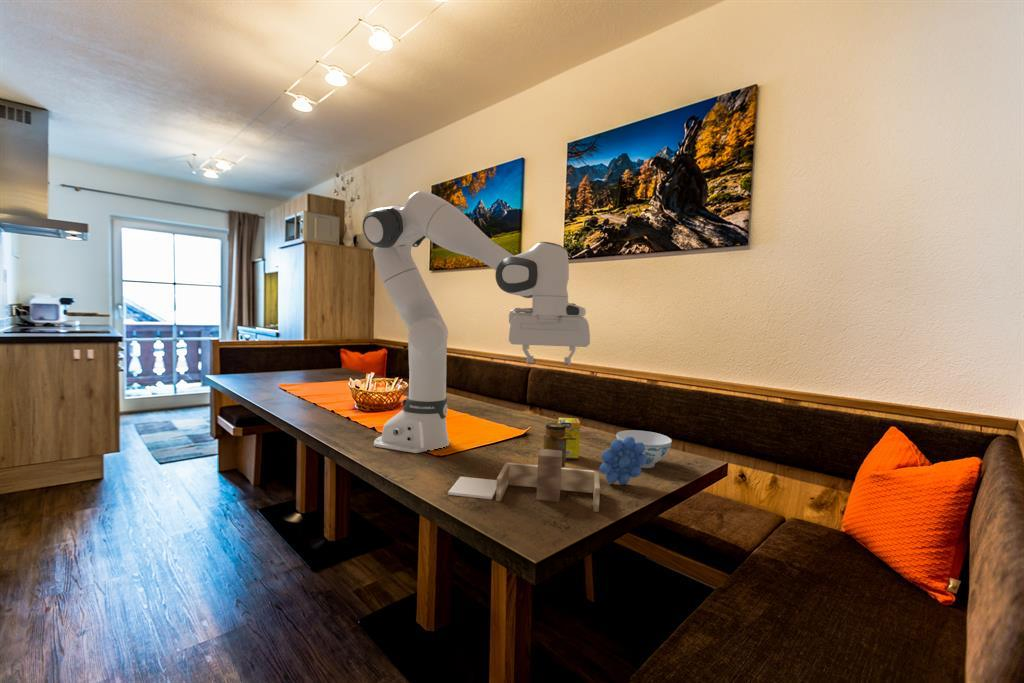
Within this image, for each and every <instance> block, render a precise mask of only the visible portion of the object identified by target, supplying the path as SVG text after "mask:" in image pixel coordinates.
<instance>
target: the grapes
mask: <svg viewBox="0 0 1024 683" xmlns="http://www.w3.org/2000/svg"><path fill="white" fill-rule="evenodd" d="M644 450H645V446H644V444H643V443H641V442H637V443H635V439H634V438H633V437H627V438H625V439H624V441H623V443H622V441H621V440H617V438H616V439H614V440H613V441H612V442H611V443H610V449H609V448H607V449H605V450H604V451H602V453H601V454H600V455H601V460H602V461H603V462H602V463H601V465H600V466H599V473H601V474H603V475H606V476H605V478H606V482H607V483H609V484H614V483H616V482H617V481H618V483H619V484H620V485H627V484H628V483H630V480H631V478H634V479H636V478H639V477H640V475H641V474H642V472H643V471H642V467H640V466H643V465H645V464H646V462H647V456H646V455H645V454H642V453H643V452H644Z"/></svg>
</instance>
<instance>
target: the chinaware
mask: <svg viewBox="0 0 1024 683" xmlns="http://www.w3.org/2000/svg"><path fill="white" fill-rule="evenodd" d="M615 436H616V437H615V438H616V439H617V440H621V441H622V443H623V441H624V439H625V438H627V437H633V438H634V439H635V443H637V442H641V443H643V444H644V446H645V450H644V452H643V453H642V454H645V455H646V456H647V462H646V464H645V465H643V466H640V467H641V469H643V468H644V469H651V468H654V467H655V464H656V463H659V462H660V461H662V460H663V459H664V458H665V457H666V456H667V454H668V453H669V451H670V448H671V447H672V444H673V443H672V441H673V440H672V438H670V437H669V436H667V435H664V434H661V433H659V432H658V433H657V432H653V431H647V430H646V431H645V430H638V429H637V430H635V429H633V430H622V431H618V432H616V434H615Z"/></svg>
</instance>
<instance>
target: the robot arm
mask: <svg viewBox="0 0 1024 683" xmlns="http://www.w3.org/2000/svg"><path fill="white" fill-rule="evenodd" d="M362 231H363V235H364V237H365V239H366V240H367V242H368V243H369V244H370V245H372V246H373V247H374V249H373V251H372V256H373V260H374V264H375V266H376V270H377V272H378V275H379V277H380V280H381V282H382V284H383V286H384V288H385V290H386V292H387V294H388V296H389V298H390V300H391V302H392V304H393V307H394V308H395V310H396V312H397V313H398V314H399V316H400V318H401V320H402V322H403V323H404V325H405V327H406V329H407V330H408V335H407V336H408V337H407V338H408V339H407V340H408V341H407V342H408V345H407V346H408V369H409V371H408V374H409V375H408V376H409V379H408V397H406V398H405V399H403V400H402V401H401V402H400V403H401V404H400V407H401V406H402V410H400V411H399V412H397V414H395V415H394V416H392V417H391V418H389V419H388V420H387V421H386V422H385V423H384V425H383V428H382V431H381V432H382V433H381V435H380V436H377V437H376V438H375V439H374V441H373V446H374V447H377V448H383V449H388V450H395V451H401V452H408V453H413V454H418V453H422V452H423V453H424V452H428V451H427V450H430V451H433V450H432V449H438V448H442V449H444V448H443V447H445V448H447V447H449V446H450V444H449V443H450V439H449V435H448V429H447V428H448V427H447V420H446V418H447V416H448V415H447V414H448V399H447V397H446V396H447V359H448V357H447V353H448V352H447V351H448V350H447V348H448V338H449V331H448V327H447V325H446V323H445V320H444V319H443V317H442V314H441V313H440V310H439V309H438V307H437V305H436V303H435V301H434V299H433V297H432V295H431V294H430V290H428V287H427V284H426V283H425V281H424V279H423V276H422V275H421V273H420V271H419V269H418V267H417V265H416V263H415V260H414V258H413V256H412V248H413V247H414V248H417V247H419V246H420V245H421V243H422V242H423V241H424V240H425V239H428V240H429V241H431V242H432V243H434V244H435V245H437V246H439V247H440V248H442V249H445V250H447V251H449V252H452V253H455V254H459V255H463V256H467V257H469V258H473V259H475V260H478V261H480V262H482V263H483V264H485V265H487V266H488V267H490V268H492V269H493V270H494V271H495V273H494V275H495V281H496V284H497V287H499V289H501V291H503V292H505V293H506V294H510V295H513V296H514V295H515V296H520V297H522V298H526V299H532V303H531V305H532V306H531V307H523V308H520V307H516V308H514V309H512V310H511V311H510V312H509V314H508V323H509V324H510V325H509V326H510V327H509V332H508V342H509V344H511V345H514V346H515V345H518V346H519V345H521V346H522V351H523V353H524V355H525V356H526V364H533V363H534V355H531V354H530V352H529V349H530V346H545V347H568V350H569V352H570V353H569V355H568V356H567V357H566V356H565V357H564V359H563V360H564V363H563V365H564V366H565V365H567V366H571V364H572V363H571V362H572V360H571V358H572V357H573V355H574V354H575V352H576V348H577V347H579V348H587V347H588V346H590V344H591V333H590V323H589V321H588V320H587V319H586V317H585V316H586V314H587V311H586V308H585V307H584V306H580V305H576V303H573V302H572V303H571V302H569V294H568V282H569V279H570V278H569V277H570V266H569V264H570V263H569V254H568V251H567V249H566V248H565V247H563V246H562V245H560V244H558V243H553V242H550V241H549V242H548V241H539V242H537V243H536V244H534V245H533V247H531V248H528V249H527V250H526V251H523V252H521V253H518V254H515V255H514V254H513V253H511V252H509V251H508V250H507V249H505V248H503V246H501V245H499V244H498V243H497V242H495V241H493V240H492V239H491V238H490V237H489V236H488V235H486V234H485V232H483V231H482V230H481V229H480V228H479V227H478V226H477V225H476V224H475V223H474V222H473V221H472V220H471V219H470V218H469V217H468V216H467V215H466V214H465V213H463V211H461V210H460V209H458V207H456V206H455V205H453V204H451V203H450V202H448V201H447V200H445V199H443V198H442V197H440V196H438V195H436V194H434V193H431V192H428V191H427V190H417V191H415V192H412V194H411V195H410V196H409V197H408V198H407V199H406V202H405V204H394V205H392V206H391V205H390V206H385V207H378V208H375V209H372V210H370V211H369V212H367V213H366V214H365V216H364V218H363V220H362ZM446 446H447V447H446ZM438 450H439V449H438Z"/></svg>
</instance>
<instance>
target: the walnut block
mask: <svg viewBox="0 0 1024 683" xmlns="http://www.w3.org/2000/svg"><path fill="white" fill-rule="evenodd" d="M537 465H538V473H537V487H536V496H535V497H536V500H537V501H544V502H545V501H546V502H556V503H559V502H560V497H561V490H560V488H561V467H562V451H560V450H549V449H543V448H540V449H539V452H538V456H537Z"/></svg>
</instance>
